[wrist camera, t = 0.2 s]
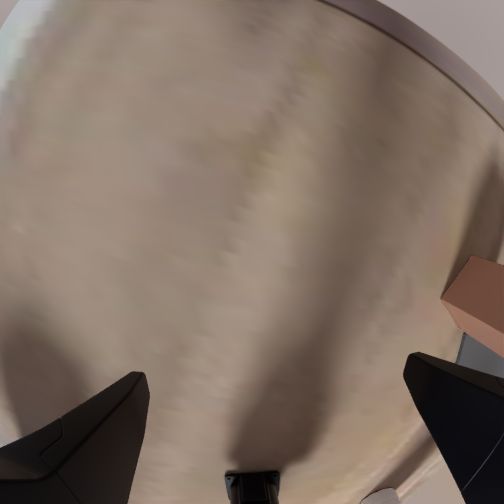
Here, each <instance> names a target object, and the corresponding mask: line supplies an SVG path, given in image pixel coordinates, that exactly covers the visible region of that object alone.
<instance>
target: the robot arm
mask: <svg viewBox="0 0 504 504" xmlns="http://www.w3.org/2000/svg"><path fill="white" fill-rule="evenodd" d="M403 377H404V380H405V383H406V385H407V387H408V389H409V392H410V394H411V396H412V398H413V401H414V403H415V405H416V408H417V410H418V412H419V413H420V415H421V417H422V419H423V421H424V422H425V424H426V426H427V428H428V430H429V431H430V433H431V435H432V437H433V439H434V441H435V443H436V444H437V446H438V448H439V450H440V452H441V454H442V456H443V458H444V460H445V462H446V464H447V466H448V468H449V469H450V472H451V474H452V476H453V478H454V480H455V482H456V484H457V486H458V488H459V490H460V492H461V494H462V497H463V499H464V501H465V503H466V504H504V378H501V377H498V376H494V375H491V374H488V373H484V372H481V371H478V370H474V369H471V368H468V367H465V366H461V365H458V364H455V363H452V362H449V361H446V360H443V359H439V358H436V357H433V356H430V355H427V354H424V353H421V352H415V353H411V354H409V356H408V358H407V361H406V365H405V368H404V372H403ZM149 400H150V392H149V388H148V383H147V379H146V375H145V373H143V372H136V371H132V372H130V373H129V374H127V375H126V376H124V377H123V378H121V379H120V380H118V381H117V382H115V383H114V384H112V385H110V386H109V387H107V388H106V389H104V390H103V391H101V392H100V393H98V394H97V395H95V396H93V397H92V398H90V399H89V400H87V401H86V402H84V403H82V404H81V405H79V406H78V407H76V408H74V409H73V410H71V411H70V412H68V413H66V414H65V415H63V416H62V417H61V419H60V418H58V419H57V420H55V421H53V422H52V423H50V424H48V425H47V426H45V427H43V428H41V429H40V430H38V431H36V432H34V433H32V434H29V435H27V436H25V437H23V438H21V439H19V440H16V441H14V442H12V443H10V444H7V445H5V446H3V447H1V448H0V504H127V503H128V499H129V494H130V490H131V486H132V482H133V478H134V474H135V470H136V466H137V462H138V458H139V454H140V450H141V447H142V443H143V439H144V434H145V428H146V420H147V413H148V406H149ZM225 483H226V488H227V493H228V498H229V500H230V503H231V504H279V501H278V492H279V472H278V471H272V472H261V473H247V474H227V475H225Z"/></svg>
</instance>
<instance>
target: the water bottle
mask: <svg viewBox="0 0 504 504" xmlns="http://www.w3.org/2000/svg"><path fill="white" fill-rule="evenodd" d="M360 504H402V503H401V501H400V500H399V497H398V495H397V493H396V492H395V490H394V489H393V488H388V489H387V488H386V489H382V490H379V491H378V492H375V493H373V494H371V495H369V496H368V497H367V498H365V499H364V500H362V502H361V503H360Z"/></svg>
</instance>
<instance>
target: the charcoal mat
mask: <svg viewBox="0 0 504 504" xmlns="http://www.w3.org/2000/svg"><path fill="white" fill-rule="evenodd" d="M456 364H458V365H461V366H465V367H468V368H471V369H474V370H478V371H481V372H484V373H488V374H491V375H494V376H498V377H501V378H504V358H503V357H501V356H500V355H498V354H497V353H495V352H494V351H492V350H491V349H489V348H488V347H486V346H485V345H483V344H482V343H480V342H479V341H477V340H476V339H474V338H473V337H471V336H470V335H468V334H466V333H464V334H463V338H462V342H461V346H460V350H459V353H458V357H457V360H456Z"/></svg>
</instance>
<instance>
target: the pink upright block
mask: <svg viewBox="0 0 504 504" xmlns="http://www.w3.org/2000/svg"><path fill="white" fill-rule="evenodd" d="M440 299H441V300H442V302H443V303H444V305H445V307H446V308H447V310H448V311H449V313H450V314H451V316H452V318H453V319H454V321H455V322H456V324H457V326H458V327H459V329H460V330H462V331H463V332H465V333H466V334H468V335H470V336H471V337H473V338H474V339H476V340H477V341H479V342H480V343H482V344H483V345H485V346H486V347H488V348H489V349H491V350H492V351H494V352H495V353H497V354H498V355H500V356H501V357H503V358H504V265H501V264H498V263H495V262H492V261H489V260H486V259H482V258H479V257H476V256H473V255H471V257H470V258H469V260H468V261H467V263H466V264H465V265H464V267H463V268H462V270H461V271H460V273H459V274H458V276H457V277H456V278H455V280H454V281H453V282H452V284H451V285H450V287H449V288H448V289H447V291H446V292H445V293H444V294H443V296H442V297H441V298H440Z"/></svg>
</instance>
